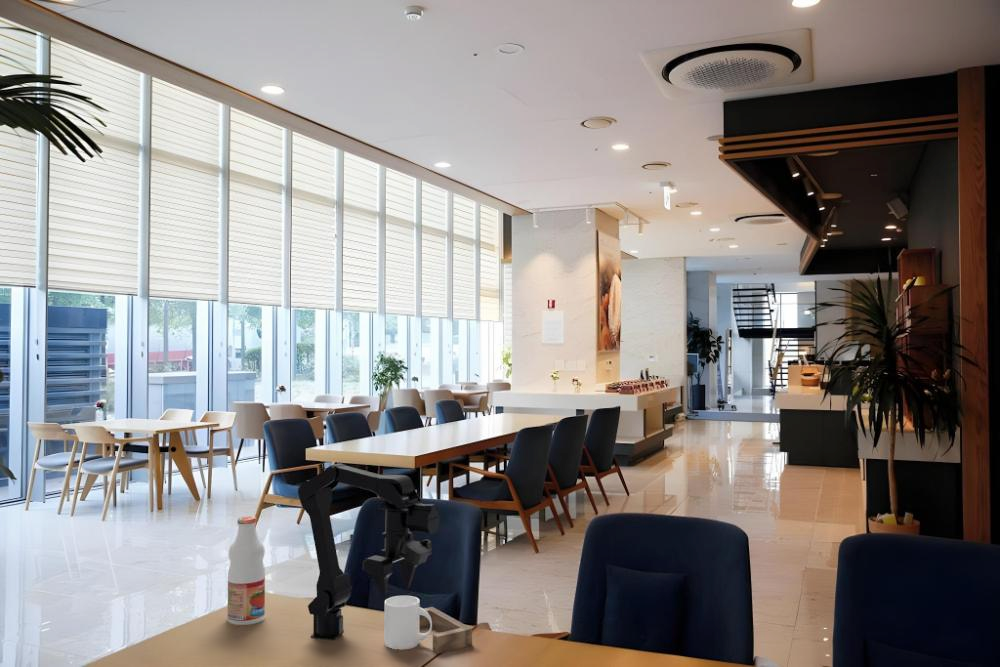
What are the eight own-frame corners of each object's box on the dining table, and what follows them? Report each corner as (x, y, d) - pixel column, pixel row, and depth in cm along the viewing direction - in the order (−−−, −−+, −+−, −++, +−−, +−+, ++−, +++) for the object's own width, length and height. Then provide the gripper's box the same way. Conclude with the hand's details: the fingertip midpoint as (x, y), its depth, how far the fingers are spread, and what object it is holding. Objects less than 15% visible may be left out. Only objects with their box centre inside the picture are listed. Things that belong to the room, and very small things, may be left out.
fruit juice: (231, 618, 210) (233, 514, 211) (267, 617, 211) (268, 514, 212) (223, 631, 201) (224, 522, 202) (260, 629, 202) (261, 521, 203)
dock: (436, 653, 186) (436, 636, 186) (398, 629, 202) (398, 613, 203) (472, 645, 192) (472, 628, 192) (432, 621, 208) (432, 606, 208)
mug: (426, 653, 186) (426, 608, 186) (379, 649, 189) (379, 605, 189) (436, 640, 194) (437, 597, 195) (391, 637, 197) (391, 594, 197)
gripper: (400, 541, 176) (398, 610, 176) (446, 525, 193) (444, 589, 192) (362, 534, 182) (360, 601, 182) (409, 520, 198) (408, 581, 198)
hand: (395, 593), depth 188 cm, fingers open, 9 cm apart
